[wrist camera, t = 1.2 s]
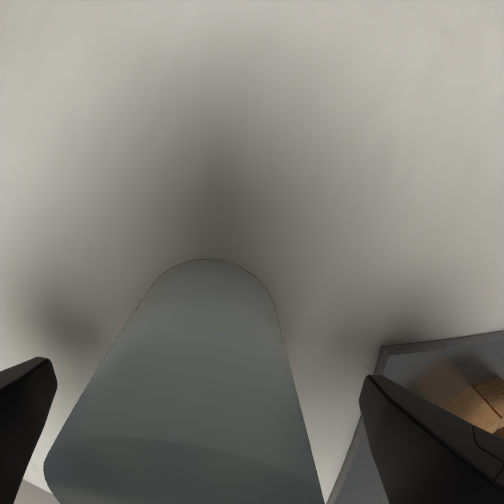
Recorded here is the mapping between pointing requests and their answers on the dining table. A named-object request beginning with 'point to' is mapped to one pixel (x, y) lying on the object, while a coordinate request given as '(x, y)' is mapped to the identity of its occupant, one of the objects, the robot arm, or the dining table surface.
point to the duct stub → (190, 403)
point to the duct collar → (431, 399)
